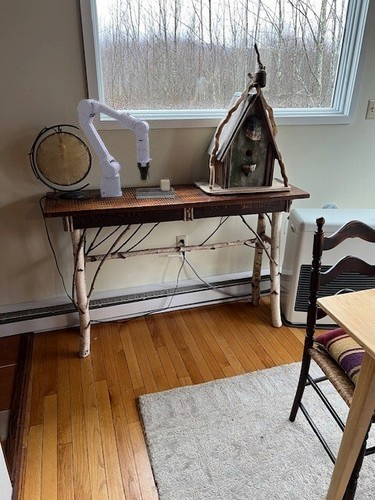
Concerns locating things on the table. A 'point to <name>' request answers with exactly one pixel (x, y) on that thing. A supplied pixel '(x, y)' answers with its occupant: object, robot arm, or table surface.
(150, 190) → the rail
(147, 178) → the finger
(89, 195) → the table surface
